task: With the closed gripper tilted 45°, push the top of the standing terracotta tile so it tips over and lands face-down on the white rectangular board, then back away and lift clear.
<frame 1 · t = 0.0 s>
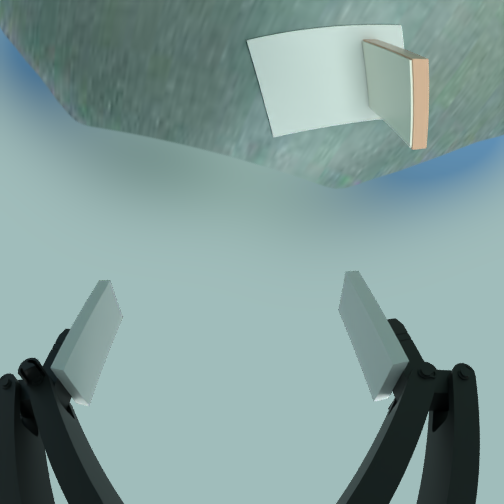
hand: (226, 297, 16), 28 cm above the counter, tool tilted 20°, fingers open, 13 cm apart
white rectangular board: (336, 76, 31), on the counter
terracotta tile: (373, 73, 29), point 1 cm above the counter, touching white rectangular board
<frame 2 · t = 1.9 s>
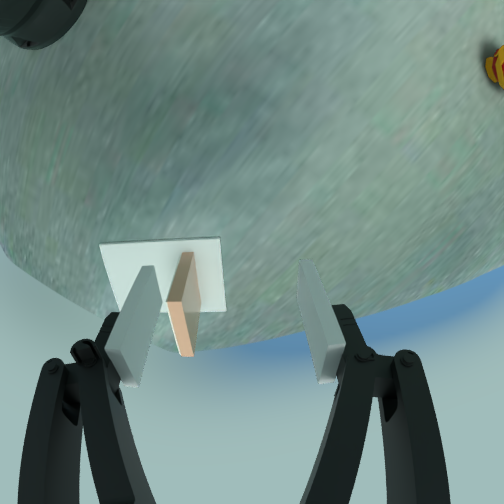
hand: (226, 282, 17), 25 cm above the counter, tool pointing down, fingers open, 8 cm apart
white rectangular board: (163, 277, 47), on the counter
potion bottle: (492, 69, 29), on the counter
terracotta tile: (192, 279, 46), point 1 cm above the counter, touching white rectangular board
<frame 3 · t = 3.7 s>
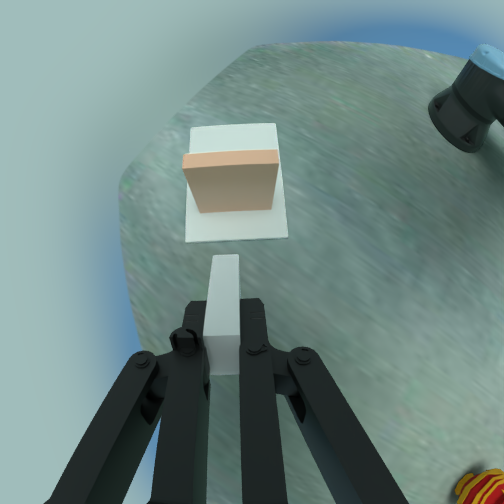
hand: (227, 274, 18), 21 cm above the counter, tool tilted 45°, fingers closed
white rectangular board: (234, 177, 42), on the counter
potion bottle: (464, 483, 28), on the counter
terracotta tile: (235, 205, 41), point 1 cm above the counter, touching white rectangular board
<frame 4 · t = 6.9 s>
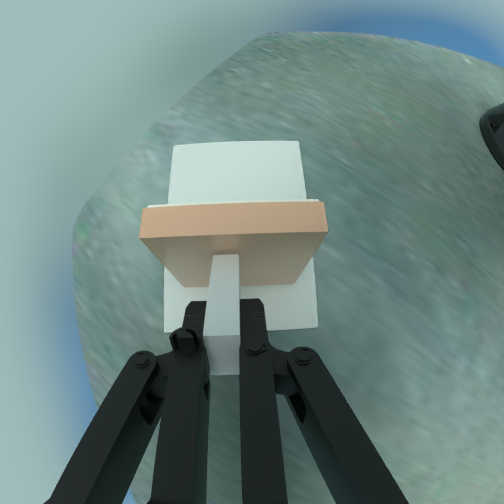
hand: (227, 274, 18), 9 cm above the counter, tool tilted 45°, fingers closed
white rectangular board: (237, 227, 28), on the counter
terracotta tile: (238, 276, 26), point 1 cm above the counter, touching white rectangular board
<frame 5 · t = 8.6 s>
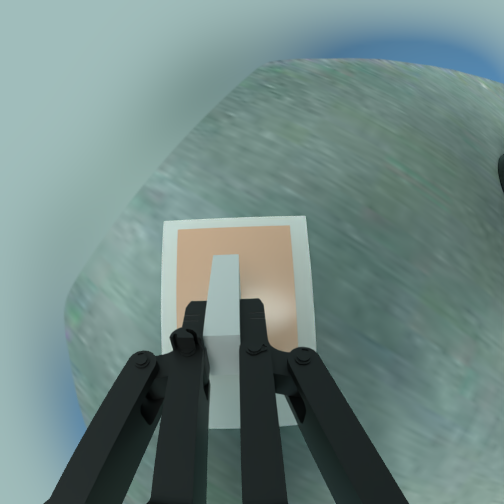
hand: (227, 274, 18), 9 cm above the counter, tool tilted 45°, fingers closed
white rectangular board: (237, 323, 26), on the counter
terracotta tile: (238, 365, 23), point 2 cm above the counter, tilted 90°, touching white rectangular board
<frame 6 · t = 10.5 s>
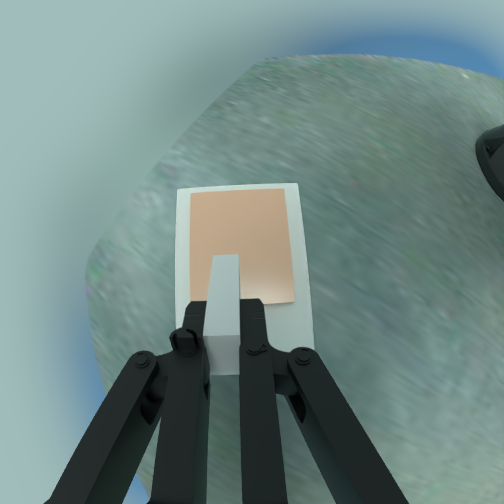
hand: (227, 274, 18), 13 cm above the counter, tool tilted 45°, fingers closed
white rectangular board: (241, 272, 31), on the counter
terracotta tile: (242, 305, 28), point 2 cm above the counter, tilted 90°, touching white rectangular board
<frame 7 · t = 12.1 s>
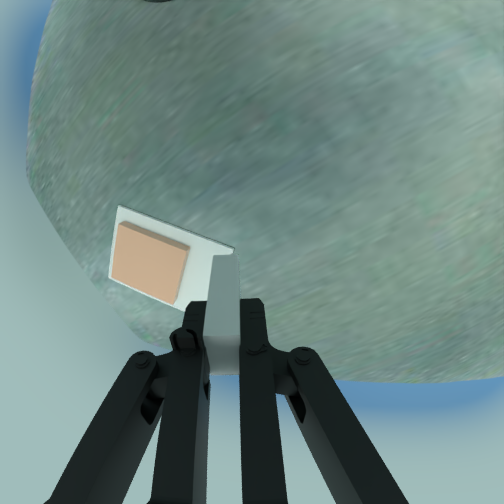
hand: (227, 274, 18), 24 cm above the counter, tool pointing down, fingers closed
white rectangular board: (164, 263, 46), on the counter
terracotta tile: (181, 277, 44), point 2 cm above the counter, tilted 90°, touching white rectangular board
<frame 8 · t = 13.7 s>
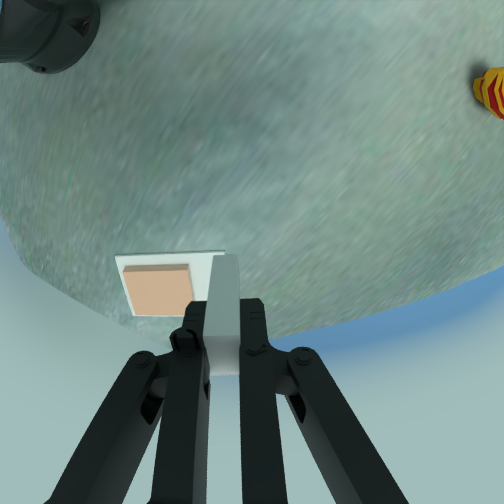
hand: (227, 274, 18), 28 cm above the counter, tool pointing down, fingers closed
white rectangular board: (173, 285, 52), on the counter
potion bottle: (480, 89, 35), on the counter
terracotta tile: (192, 291, 51), point 2 cm above the counter, tilted 90°, touching white rectangular board
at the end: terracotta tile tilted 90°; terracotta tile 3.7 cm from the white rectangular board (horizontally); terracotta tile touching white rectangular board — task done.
